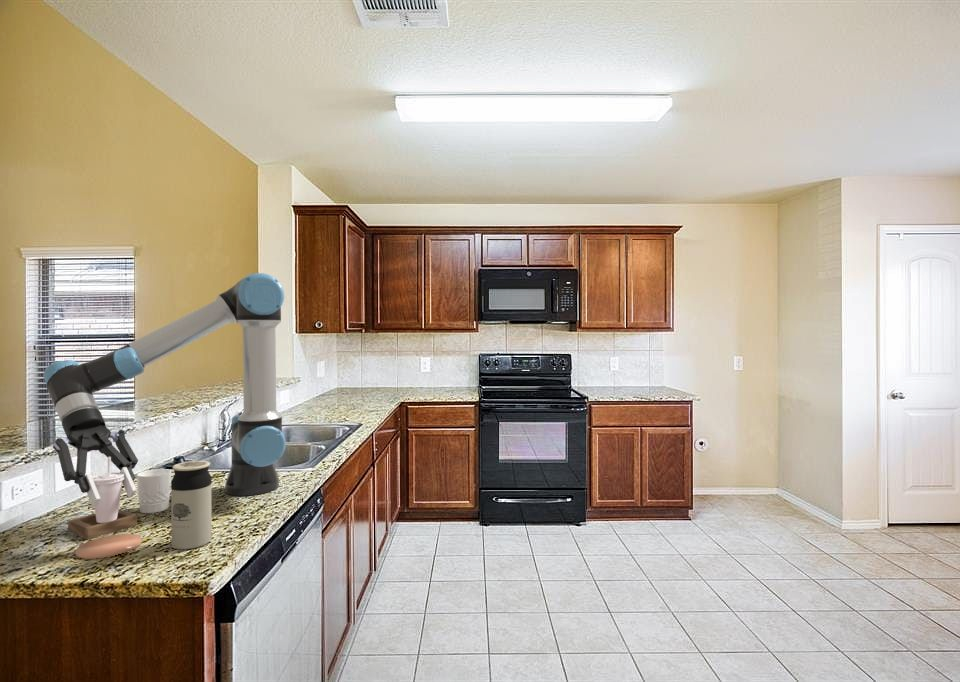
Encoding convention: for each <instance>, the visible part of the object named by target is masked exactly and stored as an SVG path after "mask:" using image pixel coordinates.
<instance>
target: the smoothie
mask: <svg viewBox="0 0 960 682" xmlns="http://www.w3.org/2000/svg"><path fill="white" fill-rule="evenodd" d="M111 467H112V462H111V457H108V458H107V472H106V473H101V474H97V475H93V476H92V478H93V481H94V483H95V486H96V488H97V491H98V493H99V496H100V498H101V499H100V500H99V502H98V504H97V506H94V512H95V513H94V514H96V520H97V522H98V523H105V522H111V521H114V520H116V519H117V516H118V509H120V501H121V494H122V488H123V484H122V481H123V480H124V479H125V478H124V474H123V473H120V472H111V471H112V468H111Z"/></svg>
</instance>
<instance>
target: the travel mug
mask: <svg viewBox="0 0 960 682" xmlns="http://www.w3.org/2000/svg"><path fill="white" fill-rule="evenodd" d="M210 465H211V463H210V462H209V461H206V460H191V461H189V460H188V461H184V462H180V463H177V464H176V463H175V464H174V465H173V466H172V467H171V468H172V470H173V471H174V476H173V477H172V478H171V484H170V497H171V499H170V501H171V502H170V505H171V507H170V510H171V513H170V514H171V515H170V516H171V518H170V519H171V520H170V521H171V523H170V524H171V525H170V526H171V527H170V529H171V532H170V533H171V535H170V536H171V542H170V543H171V545H170V546H171V547H172V548H174V549H177V550H182V549H183V550H191V549H192V548H193V549H197V548H199V547H203V546H205V545H207V544H208V543H210V542H211V541H212V475H211V473H210V471H209V467H210Z"/></svg>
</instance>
